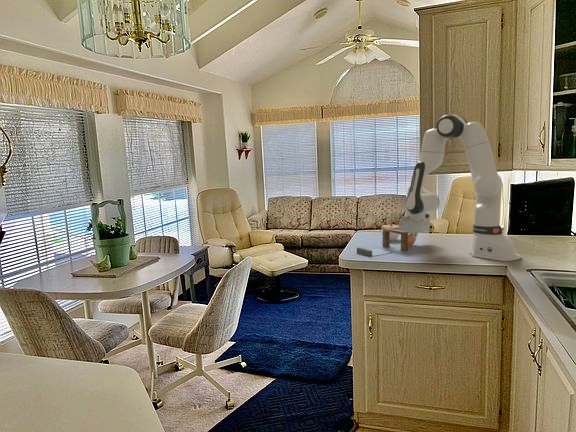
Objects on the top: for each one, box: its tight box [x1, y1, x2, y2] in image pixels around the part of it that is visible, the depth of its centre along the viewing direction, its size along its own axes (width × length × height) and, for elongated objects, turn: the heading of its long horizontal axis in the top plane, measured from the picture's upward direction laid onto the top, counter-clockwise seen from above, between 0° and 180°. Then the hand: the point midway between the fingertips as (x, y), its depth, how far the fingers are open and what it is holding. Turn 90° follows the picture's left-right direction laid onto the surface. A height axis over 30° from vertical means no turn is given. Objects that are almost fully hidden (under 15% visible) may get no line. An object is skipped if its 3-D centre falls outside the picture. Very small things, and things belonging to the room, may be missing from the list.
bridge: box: [382, 228, 409, 252], centre depth 226 cm, size 3×15×10 cm, turn 32°
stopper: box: [356, 247, 372, 257], centre depth 216 cm, size 9×2×2 cm, turn 32°
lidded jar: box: [381, 223, 401, 241], centre depth 249 cm, size 11×11×9 cm
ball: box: [408, 234, 416, 247], centre depth 232 cm, size 6×6×6 cm
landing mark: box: [368, 248, 393, 257], centre depth 220 cm, size 12×12×1 cm
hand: (413, 240), depth 235 cm, fingers closed
